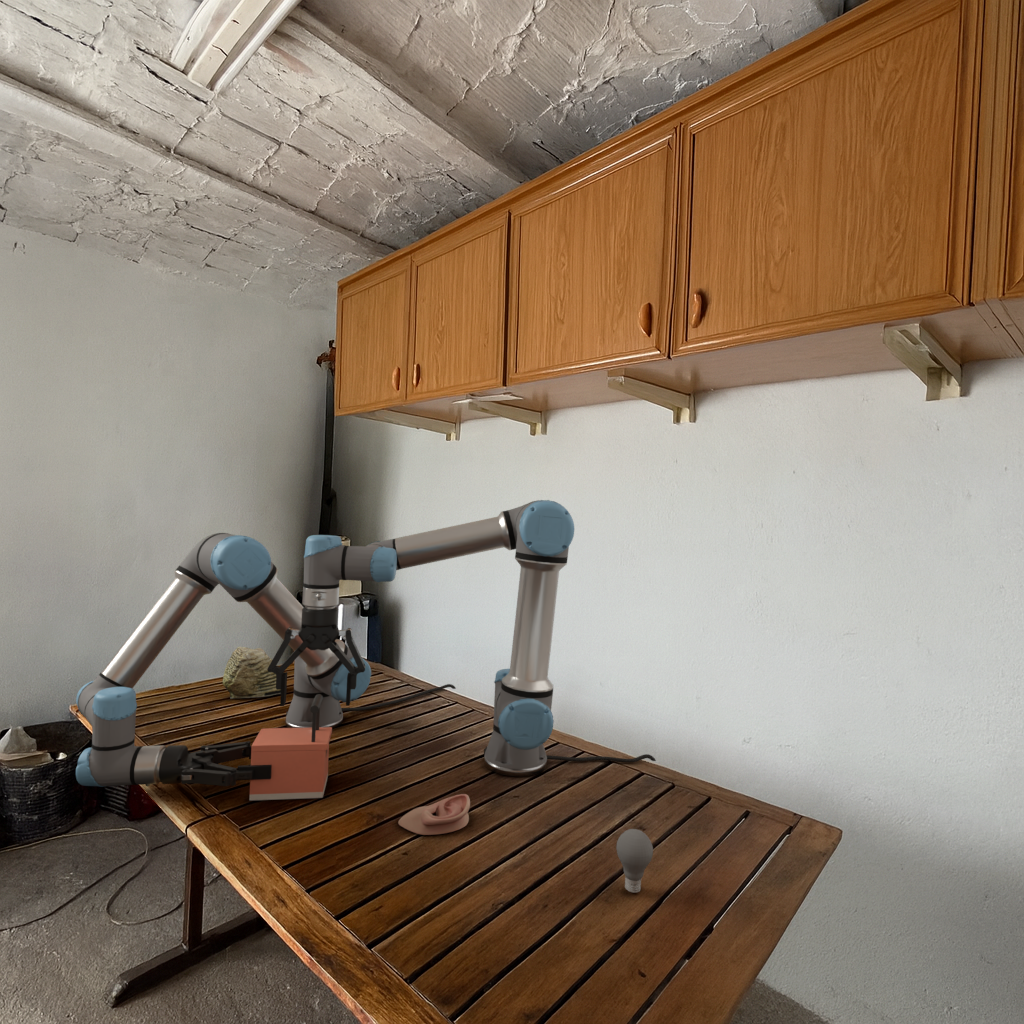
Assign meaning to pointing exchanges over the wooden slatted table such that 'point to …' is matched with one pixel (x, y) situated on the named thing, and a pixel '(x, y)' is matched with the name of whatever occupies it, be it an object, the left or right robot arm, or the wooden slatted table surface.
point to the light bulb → (634, 857)
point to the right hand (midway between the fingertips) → (315, 704)
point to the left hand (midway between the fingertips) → (275, 761)
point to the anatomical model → (438, 816)
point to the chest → (291, 774)
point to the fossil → (249, 674)
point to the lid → (295, 735)
